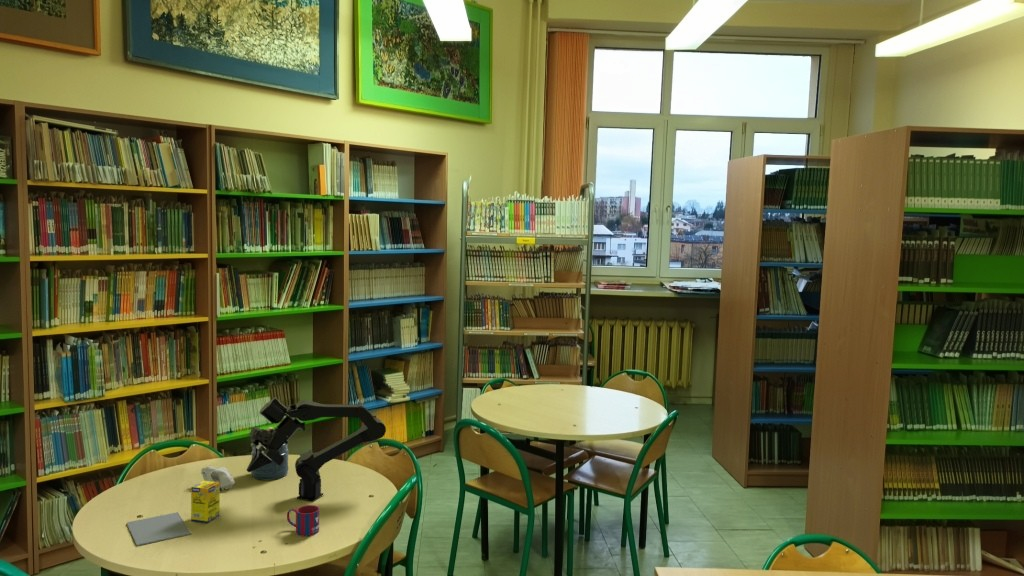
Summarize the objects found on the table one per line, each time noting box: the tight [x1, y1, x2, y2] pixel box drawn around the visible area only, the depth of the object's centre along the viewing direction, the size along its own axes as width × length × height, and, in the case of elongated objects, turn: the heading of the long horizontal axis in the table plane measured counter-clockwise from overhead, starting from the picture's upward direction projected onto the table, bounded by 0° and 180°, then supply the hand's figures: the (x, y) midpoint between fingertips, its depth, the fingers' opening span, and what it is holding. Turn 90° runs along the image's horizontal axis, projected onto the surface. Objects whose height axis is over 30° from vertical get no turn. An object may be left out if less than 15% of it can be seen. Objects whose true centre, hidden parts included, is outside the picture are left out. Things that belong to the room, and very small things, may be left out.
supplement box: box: [190, 480, 221, 524], centre depth 207 cm, size 6×6×11 cm
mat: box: [126, 511, 192, 547], centre depth 199 cm, size 14×18×1 cm
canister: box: [250, 426, 290, 481], centre depth 247 cm, size 13×13×18 cm
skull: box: [200, 465, 235, 491], centre depth 233 cm, size 8×9×12 cm
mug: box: [286, 504, 320, 537], centre depth 201 cm, size 7×10×7 cm
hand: (247, 471), depth 216 cm, fingers closed
